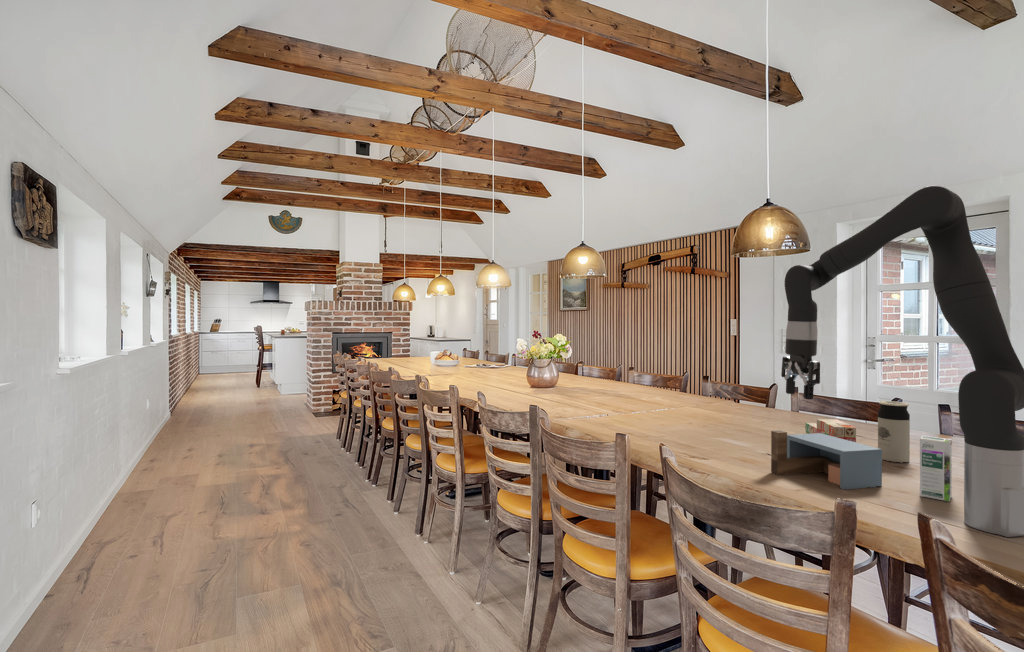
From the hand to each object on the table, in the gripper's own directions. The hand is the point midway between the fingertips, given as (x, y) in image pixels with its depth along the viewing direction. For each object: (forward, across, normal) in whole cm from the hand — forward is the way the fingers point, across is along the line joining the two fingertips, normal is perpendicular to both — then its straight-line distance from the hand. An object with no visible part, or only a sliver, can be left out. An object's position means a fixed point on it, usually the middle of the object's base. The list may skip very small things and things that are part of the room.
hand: (798, 396), depth 139 cm
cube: (+22, -5, -10) cm, 25 cm away
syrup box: (+22, -16, -26) cm, 37 cm away
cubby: (+22, 0, -10) cm, 25 cm away
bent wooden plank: (+23, +2, -4) cm, 23 cm away
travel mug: (+22, +17, -41) cm, 50 cm away
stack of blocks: (+23, +20, -22) cm, 38 cm away
